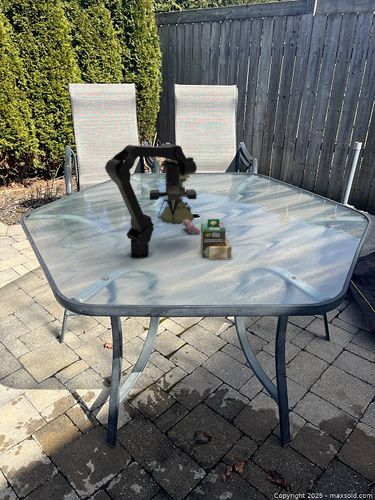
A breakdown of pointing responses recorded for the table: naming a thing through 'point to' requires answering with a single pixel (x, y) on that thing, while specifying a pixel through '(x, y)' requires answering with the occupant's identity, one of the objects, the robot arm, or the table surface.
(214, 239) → the chalk box
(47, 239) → the table surface
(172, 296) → the table surface
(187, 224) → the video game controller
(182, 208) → the lantern
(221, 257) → the wooden square frame
